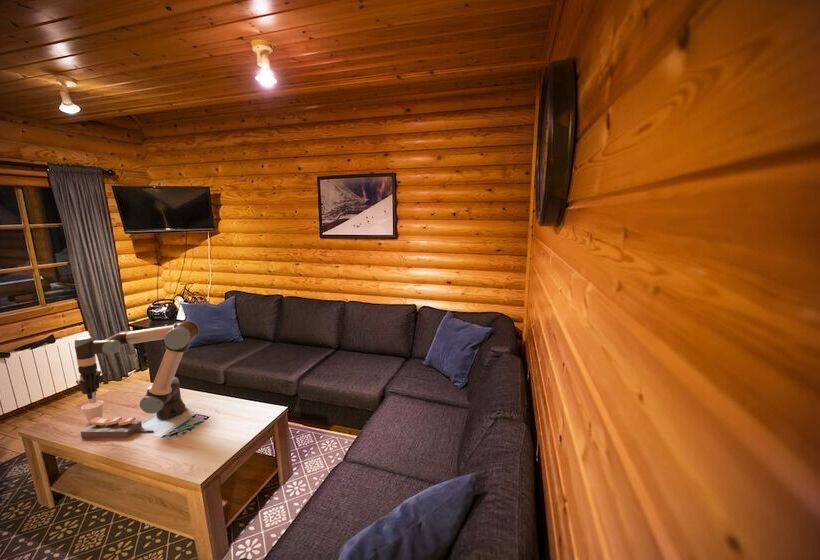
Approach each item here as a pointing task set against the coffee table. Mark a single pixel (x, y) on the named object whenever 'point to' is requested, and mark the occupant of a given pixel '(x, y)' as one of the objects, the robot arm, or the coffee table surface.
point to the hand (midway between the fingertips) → (92, 402)
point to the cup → (93, 410)
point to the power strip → (112, 430)
